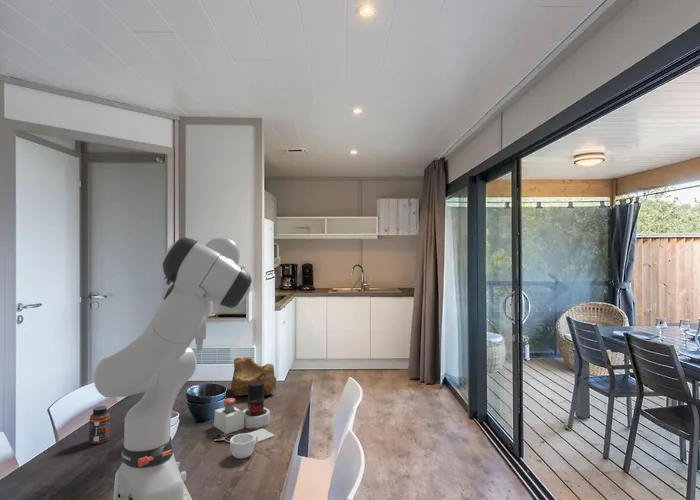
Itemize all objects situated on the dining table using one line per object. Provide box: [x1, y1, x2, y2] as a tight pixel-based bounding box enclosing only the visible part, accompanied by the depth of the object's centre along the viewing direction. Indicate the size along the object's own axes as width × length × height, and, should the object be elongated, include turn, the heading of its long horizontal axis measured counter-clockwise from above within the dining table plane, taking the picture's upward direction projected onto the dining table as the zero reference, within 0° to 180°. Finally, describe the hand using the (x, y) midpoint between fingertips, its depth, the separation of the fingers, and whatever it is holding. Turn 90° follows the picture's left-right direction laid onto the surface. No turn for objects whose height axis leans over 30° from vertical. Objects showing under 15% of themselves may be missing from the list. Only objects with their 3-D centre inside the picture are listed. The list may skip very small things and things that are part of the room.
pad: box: [248, 427, 276, 444], centre depth 148 cm, size 8×8×1 cm
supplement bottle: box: [88, 405, 111, 445], centre depth 142 cm, size 6×6×11 cm
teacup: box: [229, 432, 258, 460], centre depth 135 cm, size 10×8×5 cm
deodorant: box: [247, 381, 265, 416], centre depth 159 cm, size 6×6×15 cm
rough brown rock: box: [230, 356, 277, 397], centre depth 191 cm, size 23×17×15 cm
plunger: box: [223, 397, 236, 414], centre depth 155 cm, size 4×4×6 cm
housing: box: [213, 406, 271, 435], centre depth 157 cm, size 13×18×6 cm
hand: (198, 347), depth 148 cm, fingers open, 8 cm apart
